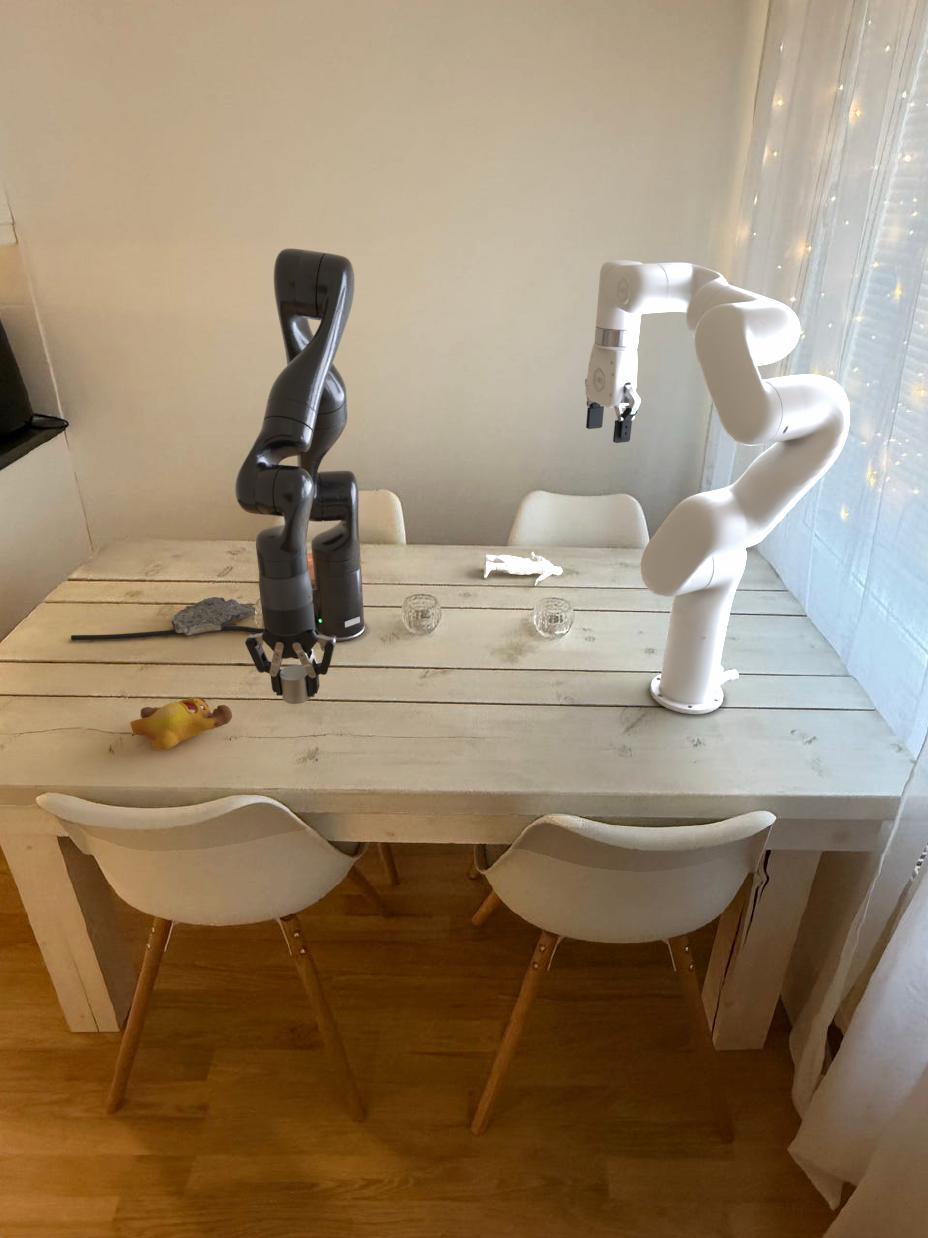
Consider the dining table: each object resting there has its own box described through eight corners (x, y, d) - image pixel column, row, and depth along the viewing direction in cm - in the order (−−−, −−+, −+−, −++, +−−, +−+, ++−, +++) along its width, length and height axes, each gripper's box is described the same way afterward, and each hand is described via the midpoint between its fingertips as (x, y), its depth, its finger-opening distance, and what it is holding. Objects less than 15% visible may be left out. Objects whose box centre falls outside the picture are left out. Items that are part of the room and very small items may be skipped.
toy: (124, 709, 134) (215, 682, 140) (135, 746, 135) (224, 717, 142) (132, 722, 124) (229, 692, 131) (144, 761, 125) (239, 730, 132)
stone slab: (156, 626, 166) (154, 613, 164) (223, 596, 177) (221, 584, 176) (194, 646, 159) (192, 633, 158) (261, 614, 171) (259, 601, 169)
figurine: (483, 589, 181) (563, 599, 182) (486, 568, 179) (567, 578, 180) (482, 559, 197) (556, 568, 198) (485, 539, 194) (560, 548, 195)
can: (296, 707, 126) (294, 683, 123) (276, 698, 128) (273, 674, 126) (317, 694, 129) (315, 670, 127) (296, 685, 131) (294, 661, 129)
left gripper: (231, 607, 117) (245, 705, 125) (329, 610, 116) (337, 708, 125) (245, 584, 124) (258, 679, 132) (339, 586, 123) (346, 682, 131)
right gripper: (573, 331, 148) (567, 424, 156) (624, 347, 134) (614, 449, 142) (609, 328, 150) (601, 421, 158) (663, 345, 136) (650, 445, 144)
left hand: (296, 693), depth 128 cm, fingers closed on can, 4 cm apart
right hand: (607, 434), depth 150 cm, fingers open, 9 cm apart
